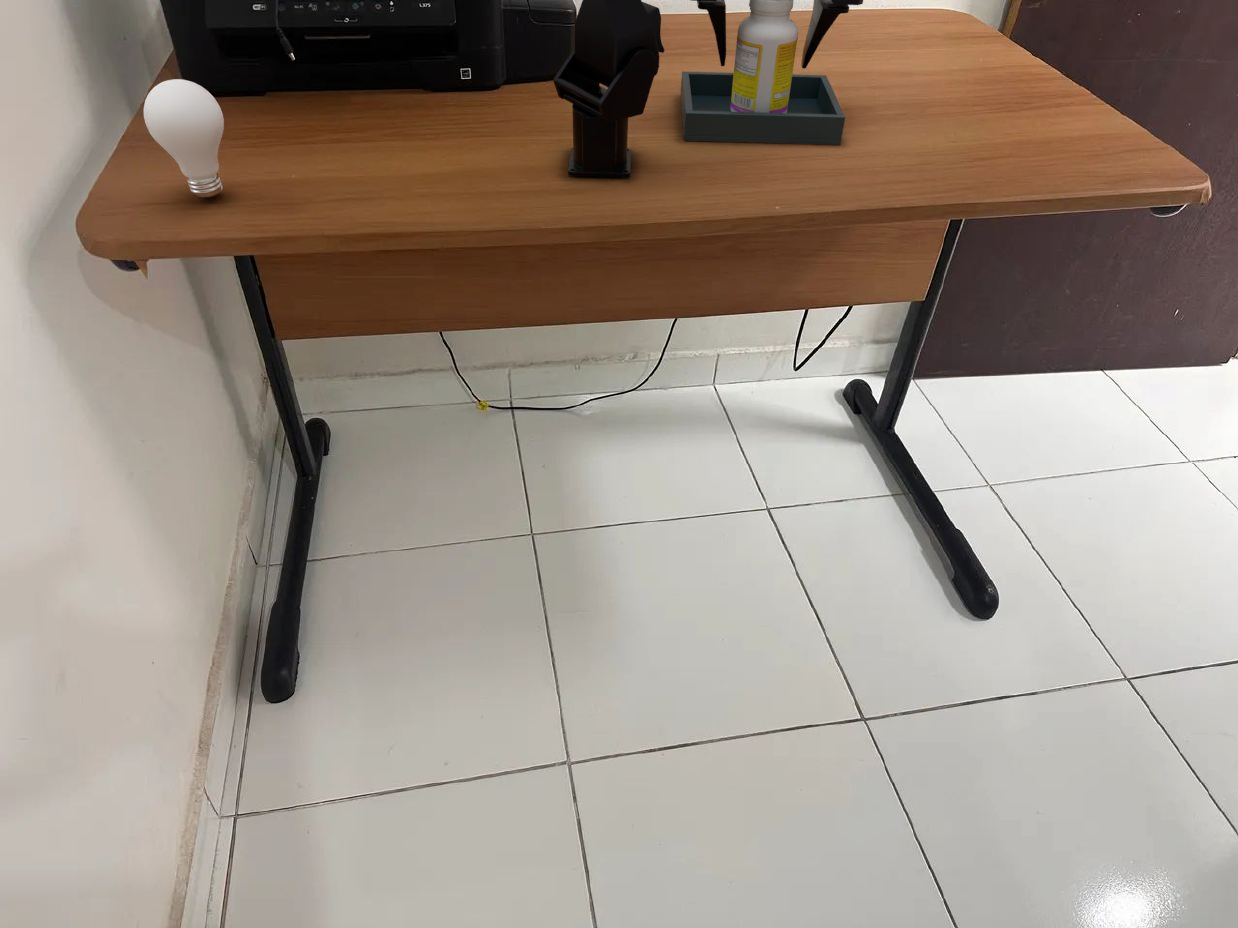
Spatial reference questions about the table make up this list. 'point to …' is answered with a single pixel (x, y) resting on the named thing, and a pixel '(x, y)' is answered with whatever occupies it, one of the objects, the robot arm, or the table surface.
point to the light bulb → (188, 131)
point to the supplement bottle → (764, 58)
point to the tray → (804, 123)
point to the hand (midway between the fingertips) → (762, 66)
